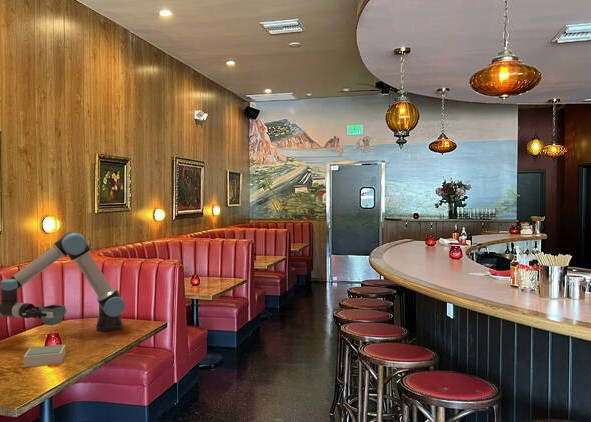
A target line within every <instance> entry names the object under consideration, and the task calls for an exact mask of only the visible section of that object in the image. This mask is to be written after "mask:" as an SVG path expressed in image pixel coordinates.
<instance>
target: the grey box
mask: <svg viewBox="0 0 591 422" xmlns="http://www.w3.org/2000/svg"><path fill="white" fill-rule="evenodd" d="M65 356H66V344H53V345H45V346H44V345H43V346H42V345H41V346H33V347H32V346H31V347H30V348H28V350H27V351H26V353H25V354H24V356H23V368H31V367H32V368H33V367H41V366H50V365H60V364H62V363H63V362H64V359H65Z"/></svg>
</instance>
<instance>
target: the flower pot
mask: <svg viewBox="0 0 591 422" xmlns="http://www.w3.org/2000/svg"><path fill="white" fill-rule="evenodd" d="M44 306H45V305H44ZM41 307H42V306H41ZM65 308H66V305H60V304H50V305H46V306H45V307H42V308H39V311H40V312H53V318H45V317H41V319H40V320H41V321H42V323H43V324H44V325H45V326H55V325H58V324H61V323H62V321H63V319H64V316H65V314H64V312H65Z"/></svg>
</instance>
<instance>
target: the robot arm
mask: <svg viewBox="0 0 591 422" xmlns="http://www.w3.org/2000/svg"><path fill="white" fill-rule="evenodd" d="M67 256H68V259H70V261H72V262H75V263H76V265H77V266H78V268H79V269H80V271H81V272H82V274H83V276H84V277H85V279H86V280H87V282H88V283H89V285H90V286H91V288H92V289H93V292H95V294H96V296H97V298H96V301H97V303H98V318H97V321H96V324H95V330H96V331H98V332H109V331H110V332H111V331H117V330H121V329H122V328H123V327H124V324H123V321H122V317H121V314H123V313H124V311H125V308H126V303H125V300H124V299H123V298H122V297H121V295H120V290H118V289H116V288H114V287H113V288H112V287H111V284H110V283H109V281H108V280H107V279H106V277H105V276H104V274H103V272H102V270H101V269H100V267H99V266H98V264H97V262H96V260H94V257H93V256H92V254H91V248H90V246H89V245H88V243H87V239H86V237H85V236H84V235H82V234H81V233H78V232H76V231H70V232H67V233H65V234H63V236H62V237H60V238H59V239H58V240H56V241H55V242H54V243H53V246H52V247H50V248H49V249H48V250H47V251H45V252H43V253H42V254H41V255H39V256H38V257H36V258H35V259H34V260H33V261H31V262H30V263H29V264H27V265H26V266H24V267H23V268H22V269H20V270H18V271H17V272H16V273H15V274H13V275H12V276H10V278H8V279H3V280H1V282H0V317H5V318H7V317H8V318H18V319H22V318H23V319H31V318H32V319H37V318H38V319H39V320H42V319H41V317H45V318H53V312H40V311H39V308H42V307H45V305H43V306H36V305H34V304H33V303H26V302H19V301H18V291H19V289H21V288H22V287H23V286H24V285H26V284H27V283H28V282H30V281H31V280H32V279H34V278H35V277H37V276H38V275H39V274H41V273H42V272H43V271H44V270H46V269H48V268H49V267H50V266H51V265H53V264H54V263H56V262H57V261H58V260H59V259H61V258H63V257H67ZM67 314H68V308H66V307H65V312H64V315H67Z"/></svg>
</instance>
